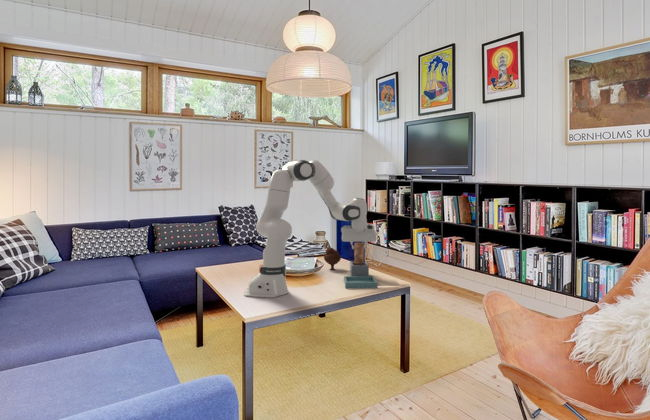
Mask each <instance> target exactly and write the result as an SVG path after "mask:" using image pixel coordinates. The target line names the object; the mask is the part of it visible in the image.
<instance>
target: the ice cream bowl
mask: <svg viewBox="0 0 650 420" xmlns="http://www.w3.org/2000/svg"><path fill="white" fill-rule="evenodd" d="M325 254H326V255H324V256H323V259H324V261H325V262H326V263H327V264H328V265H330V268H329V271H336V268H335V265H337V264H338V263H339V262H341V259H342V256H341V255H340V252H339V251H338V250H336V249H334V248H333V247H328V248H326V250H325Z"/></svg>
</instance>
